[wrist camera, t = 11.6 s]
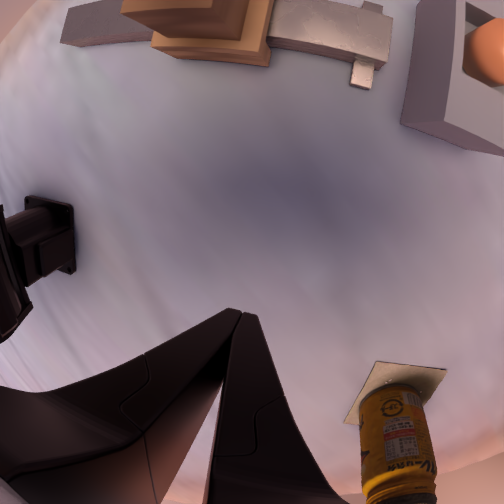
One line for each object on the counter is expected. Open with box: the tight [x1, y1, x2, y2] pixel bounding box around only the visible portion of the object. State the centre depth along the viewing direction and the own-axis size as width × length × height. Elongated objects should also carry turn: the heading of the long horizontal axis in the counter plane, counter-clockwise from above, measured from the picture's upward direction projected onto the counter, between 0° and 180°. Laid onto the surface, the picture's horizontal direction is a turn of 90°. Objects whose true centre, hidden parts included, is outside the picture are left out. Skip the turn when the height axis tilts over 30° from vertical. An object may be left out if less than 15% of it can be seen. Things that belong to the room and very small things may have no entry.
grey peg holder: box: [400, 0, 504, 157], centre depth 11 cm, size 5×9×7 cm, turn 170°
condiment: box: [344, 362, 448, 504], centre depth 19 cm, size 7×8×12 cm
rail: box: [60, 0, 393, 90], centre depth 15 cm, size 22×6×2 cm, turn 80°
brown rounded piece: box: [462, 18, 504, 88], centre depth 8 cm, size 3×3×3 cm
